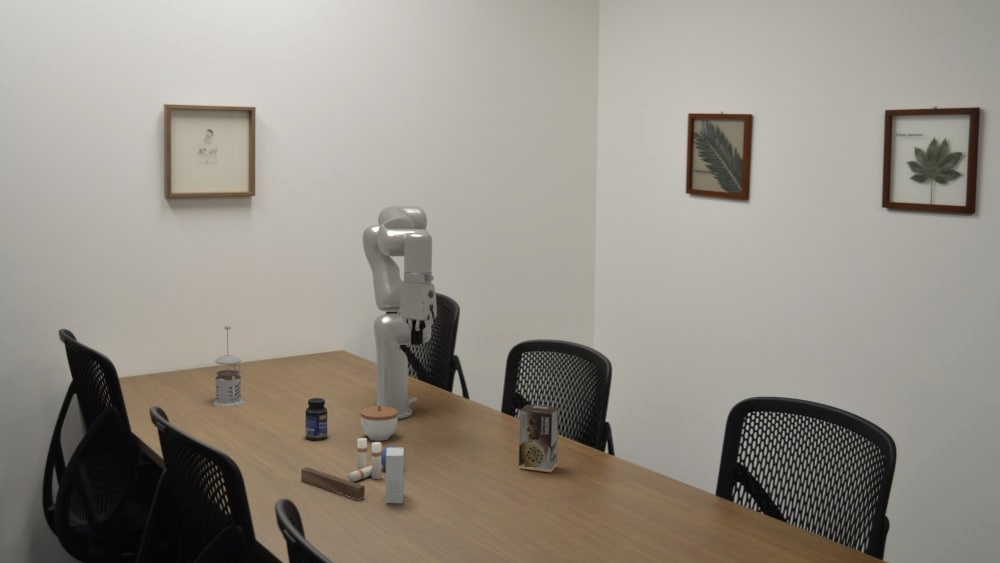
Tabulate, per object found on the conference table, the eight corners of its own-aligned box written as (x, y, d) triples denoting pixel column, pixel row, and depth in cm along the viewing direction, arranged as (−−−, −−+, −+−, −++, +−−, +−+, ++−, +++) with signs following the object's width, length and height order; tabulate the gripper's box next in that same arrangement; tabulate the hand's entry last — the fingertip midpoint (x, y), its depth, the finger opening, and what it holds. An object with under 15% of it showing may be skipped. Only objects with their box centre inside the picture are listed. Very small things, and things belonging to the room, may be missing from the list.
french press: (207, 405, 303) (205, 327, 300) (223, 395, 315) (222, 320, 311) (236, 407, 302) (235, 329, 298) (251, 397, 313) (251, 322, 309)
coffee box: (557, 466, 256) (559, 407, 254) (550, 474, 250) (552, 413, 248) (524, 461, 259) (526, 403, 256) (517, 469, 253) (519, 409, 250)
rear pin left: (376, 475, 245) (376, 441, 244) (383, 477, 244) (383, 443, 243) (369, 478, 243) (369, 443, 242) (376, 480, 242) (376, 445, 241)
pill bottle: (322, 441, 271) (322, 403, 269) (302, 439, 272) (301, 402, 270) (330, 435, 277) (330, 398, 275) (310, 433, 278) (310, 396, 276)
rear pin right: (362, 470, 248) (362, 437, 247) (369, 473, 247) (369, 439, 246) (355, 473, 246) (355, 439, 245) (362, 475, 245) (362, 441, 244)
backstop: (307, 478, 242) (307, 467, 241) (364, 498, 230) (364, 486, 230) (301, 480, 240) (301, 469, 240) (358, 500, 228) (358, 488, 228)
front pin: (373, 462, 248) (348, 471, 240) (380, 465, 246) (355, 474, 239) (373, 471, 248) (347, 480, 241) (380, 474, 247) (354, 483, 239)
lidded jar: (405, 437, 276) (406, 406, 275) (376, 445, 269) (376, 413, 267) (381, 429, 284) (381, 398, 282) (352, 436, 276) (352, 405, 275)
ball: (372, 464, 248) (385, 467, 253) (390, 470, 245) (403, 474, 250) (380, 442, 249) (393, 445, 254) (397, 448, 246) (410, 451, 251)
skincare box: (385, 494, 232) (386, 447, 231) (403, 494, 233) (404, 447, 231) (385, 504, 226) (385, 455, 225) (403, 504, 227) (403, 455, 225)
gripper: (447, 279, 261) (446, 346, 264) (406, 273, 270) (405, 338, 272) (429, 282, 255) (428, 350, 258) (388, 276, 264) (387, 342, 266)
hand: (416, 344), depth 265 cm, fingers closed
